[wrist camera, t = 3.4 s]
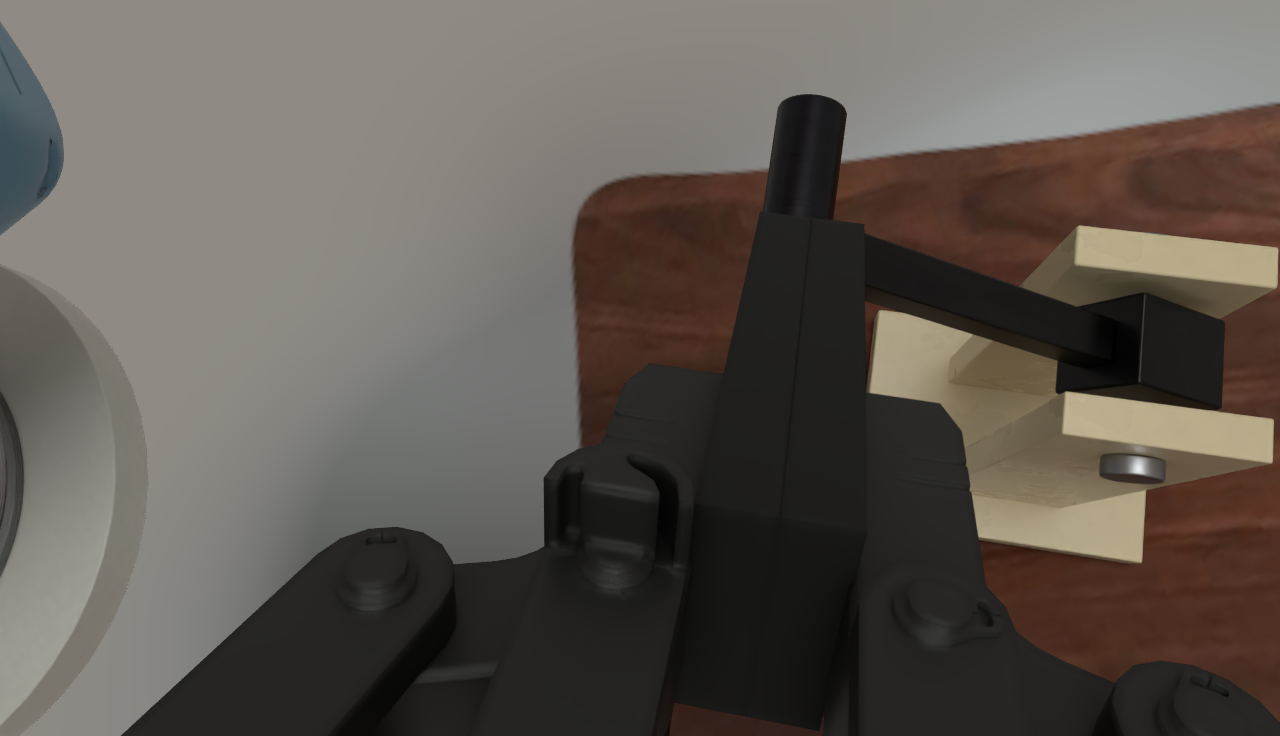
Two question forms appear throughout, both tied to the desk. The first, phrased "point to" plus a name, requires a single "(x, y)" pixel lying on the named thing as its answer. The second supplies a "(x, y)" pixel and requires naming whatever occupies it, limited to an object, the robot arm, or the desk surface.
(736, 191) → the desk surface
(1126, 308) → the lever
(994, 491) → the bracket
